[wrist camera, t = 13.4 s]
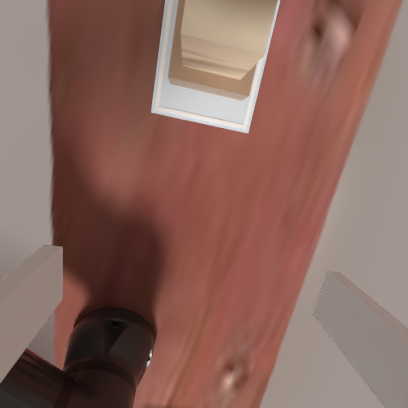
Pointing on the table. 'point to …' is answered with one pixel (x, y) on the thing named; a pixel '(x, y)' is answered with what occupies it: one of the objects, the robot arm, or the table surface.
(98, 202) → the table surface
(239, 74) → the maple block
